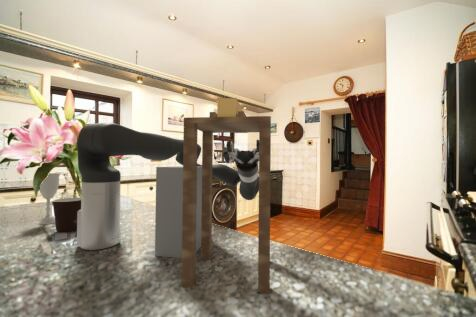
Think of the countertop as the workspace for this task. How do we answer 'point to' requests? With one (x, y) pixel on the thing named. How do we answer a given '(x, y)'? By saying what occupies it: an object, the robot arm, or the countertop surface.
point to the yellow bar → (228, 108)
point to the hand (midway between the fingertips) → (243, 142)
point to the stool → (190, 189)
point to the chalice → (49, 195)
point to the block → (173, 211)
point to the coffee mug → (66, 214)
